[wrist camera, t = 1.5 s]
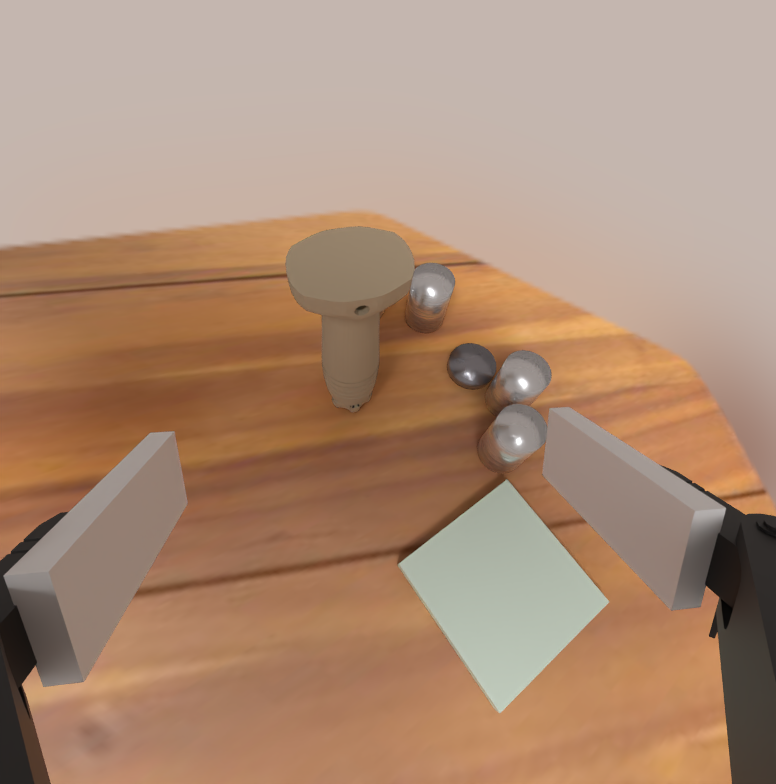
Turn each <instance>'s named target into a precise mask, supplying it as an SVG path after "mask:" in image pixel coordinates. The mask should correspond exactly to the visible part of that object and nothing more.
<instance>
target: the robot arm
mask: <svg viewBox="0 0 776 784" xmlns="http://www.w3.org/2000/svg"><path fill="white" fill-rule="evenodd" d="M542 475H543V476H544V478H545V479H546V480H547V481H548V482H549V483H550V484H551V485H552V486H553V487H554V488H555V489H556V490H557V491H558V492H559V493H560V494H561V495H562V496H563V497H564V499H565V500H566V501H567V502H568V503H569V504H570V505H571V506H572V507H573V508H574V509H575V510H576V511H577V512H578V513H579V514H580V515H581V516H582V517H583V518H584V520H585V521H586V522H587V523H588V524H589V525H590V526H591V527H592V528H593V529H594V530H595V531H596V532H597V533H598V534H599V535H600V536H601V537H602V538H603V539H604V541H605V542H606V543H607V544H608V545H609V546H610V547H611V548H612V549H613V550H614V551H615V552H616V553H617V554H618V555H619V556H620V557H621V558H622V559H623V560H624V561H625V563H626V564H627V565H628V566H629V567H630V568H631V569H632V570H633V571H634V572H635V573H636V574H637V575H638V576H639V577H640V578H641V579H642V580H643V581H644V582H645V584H646V585H647V586H648V587H649V588H650V589H651V590H652V591H653V592H654V593H655V594H656V595H657V596H658V597H659V598H660V599H661V600H662V601H663V602H664V603H665V605H666V606H667V607H668V608H669V609H670V610H671V611H672V610H680V609H688V608H697V607H700V606H701V603H702V599H703V595H704V591H705V587H706V586H707V587H708V588H710V589H711V590H712V591H713V592H714V593H715V594H716V595H717V596H719V597H720V598H719V602H718V605H717V609H716V612H715V616H714V619H713V623H712V627H711V630H710V634H709V636H710V637H712V638H715V636H716V634H717V632H718V639H719V649H720V660H721V670H722V681H723V692H724V702H725V713H726V723H727V734H728V745H729V755H730V766H731V776H732V784H776V517H775V516H771V515H765V514H747V515H745V514H743V513H742V512H740V511H739V510H737V509H735V508H734V507H732V506H731V505H729V504H727V503H726V502H724V501H723V500H721V499H719V498H718V497H716V496H715V495H713V494H712V493H710V492H708V491H705V490H704V488H702V487H700V486H699V485H697V484H696V483H692V481H691V480H689V479H688V478H686V477H685V476H683V475H681V474H680V473H678V472H676V471H674V470H671V469H669V468H666V467H664V466H661V465H659V464H657V463H655V462H654V461H652V460H651V459H649V458H648V457H646V456H645V455H643V454H641V453H640V452H638V451H637V450H635V449H634V448H632V447H631V446H629V445H627V444H626V443H624V442H623V441H621V440H620V439H618V438H616V437H615V436H613V435H612V434H610V433H609V432H607V431H606V430H604V429H602V428H601V427H599V426H598V425H596V424H595V423H593V422H592V421H590V420H588V419H587V418H585V417H584V416H582V415H581V414H579V413H578V412H576V411H574V410H573V409H571V408H570V407H562V408H549V417H548V426H547V436H546V445H545V454H544V464H543V473H542ZM187 504H188V501H187V496H186V491H185V485H184V480H183V475H182V469H181V464H180V458H179V453H178V448H177V442H176V437H175V432H174V431H171V432H154V433H149V434H148V435H147V436H146V437H145V438H144V439H143V440H142V441H141V442H140V443H139V444H138V445H137V446H136V447H135V448H134V449H133V450H132V451H131V452H130V453H129V454H128V455H127V456H126V457H125V458H124V459H123V460H122V461H121V462H120V463H119V464H118V465H117V466H116V467H114V468H113V469H112V470H111V471H110V472H109V473H108V474H107V475H106V476H105V477H104V478H103V479H102V480H101V481H100V482H99V483H98V484H97V485H96V486H95V487H94V488H93V489H92V490H91V491H90V492H89V493H88V494H87V495H86V496H85V497H84V498H83V499H82V500H81V501H80V502H79V503H78V504H77V505H75V506H74V507H73V508H72V509H71V510H70V511H69V512H65V513H59V514H58V515H56V516H54V517H53V518H51V519H49V520H47V521H46V522H44V523H42V524H41V525H39V526H38V527H37V528H36V529H35V530H34V531H32V532H31V533H30V534H29V535H28V536H27V537H26V538H25V539H24V542H21V543H19V544H18V545H17V546H16V547H15V548H14V549H13V550H12V551H11V554H7V555H6V556H5V557H4V558H3V559H2V560H1V561H0V784H51V783H50V780H49V776H48V772H47V769H46V765H45V762H44V758H43V754H42V751H41V747H40V744H39V740H38V737H37V733H36V729H35V726H34V722H33V719H32V715H31V711H30V708H29V704H28V701H27V697H26V694H25V692H24V689H23V686H22V683H23V682H24V680H25V679H26V677H27V676H28V675H29V673H30V672H31V671H32V669H33V668H34V666H35V665H36V667H37V670H38V673H39V676H40V678H41V681H42V684H43V687H46V686H54V685H63V684H71V683H79V682H84V681H85V679H86V678H87V676H88V674H89V672H90V671H91V669H92V667H93V666H94V664H95V662H96V660H97V659H98V657H99V655H100V653H101V652H102V650H103V648H104V647H105V645H106V643H107V641H108V640H109V638H110V636H111V635H112V633H113V631H114V629H115V628H116V626H117V624H118V623H119V621H120V619H121V617H122V616H123V614H124V612H125V611H126V609H127V607H128V605H129V604H130V602H131V600H132V599H133V597H134V595H135V593H136V592H137V590H138V588H139V587H140V585H141V583H142V581H143V580H144V578H145V576H146V574H147V573H148V571H149V569H150V568H151V566H152V564H153V562H154V561H155V559H156V557H157V556H158V554H159V552H160V550H161V549H162V547H163V545H164V544H165V542H166V540H167V538H168V537H169V535H170V533H171V532H172V530H173V528H174V526H175V525H176V523H177V521H178V520H179V518H180V516H181V514H182V513H183V511H184V509H185V508H186V506H187Z"/></svg>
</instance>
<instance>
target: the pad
mask: <svg viewBox="0 0 776 784" xmlns="http://www.w3.org/2000/svg"><path fill="white" fill-rule="evenodd" d="M397 566H398V567H399V568H400V570H401V571H402V573H403V574H404V576H405V577H406V579H407V580H408V582H409V583H410V585H411V586H412V588H413V589H414V591H415V592H416V594H417V595H418V597H419V598H420V600H421V601H422V603H423V604H424V606H425V607H426V608H427V610H428V611H429V613H430V614H431V616H432V617H433V619H434V620H435V622H436V623H437V625H438V626H439V628H440V629H441V631H442V632H443V634H444V635H445V637H446V638H447V640H448V641H449V643H450V644H451V646H452V647H453V649H454V650H455V651H456V653H457V654H458V656H459V657H460V659H461V660H462V662H463V663H464V665H465V666H466V668H467V669H468V671H469V672H470V674H471V675H472V677H473V678H474V680H475V681H476V683H477V684H478V686H479V687H480V689H481V690H482V691H483V693H484V694H485V696H486V697H487V699H488V700H489V702H490V703H491V705H492V706H493V708H494V709H495V710H496V711H497V712H499V713H501V712H502V711H503V710H504V709H505V708H506V707H507V706H508V705H509V704H510V703H511V702H512V701H513V700H514V699H515V697H516V696H517V695H518V694H519V693H520V692H521V691H522V690H523V689H524V688H525V687H526V686H527V685H528V684H529V683H530V682H531V681H532V680H533V679H534V678H535V677H536V676H537V675H538V674H539V673H540V672H541V671H542V670H543V669H544V668H545V667H546V666H547V665H548V664H549V663H550V662H551V661H552V660H553V659H554V658H555V657H556V656H557V655H558V654H559V653H560V652H561V651H562V650H563V649H564V648H565V646H566V645H567V644H568V643H569V642H570V641H571V640H572V639H573V638H574V637H575V636H576V635H577V634H578V633H579V632H580V631H581V630H582V629H583V628H584V627H585V626H586V625H587V624H588V623H589V622H590V621H591V620H592V619H593V618H594V617H595V616H596V615H597V614H598V613H599V612H600V611H601V610H602V609H603V608H604V607H605V606H606V605H607V604H608V603H609V601H608V600H607V598H606V597H605V596H604V595H603V594H602V592H601V591H600V590H599V589H598V588H597V586H596V585H595V584H594V583H593V582H592V580H591V579H590V578H589V577H588V576H587V574H586V573H585V572H584V571H583V570H582V568H581V567H580V566H579V565H578V564H577V562H576V561H575V560H574V559H573V558H572V556H571V555H570V554H569V553H568V552H567V550H566V549H565V548H564V547H563V546H562V544H561V543H560V542H559V541H558V540H557V538H556V537H555V536H554V535H553V534H552V532H551V531H550V530H549V529H548V528H547V526H546V525H545V524H544V523H543V522H542V520H541V519H540V518H539V517H538V516H537V514H536V513H535V512H534V511H533V510H532V508H531V507H530V506H529V505H528V504H527V502H526V501H525V500H524V499H523V498H522V496H521V495H520V494H519V493H518V492H517V490H516V489H515V488H514V487H513V486H512V484H511V483H510V482H509V481H508V480H505V481H504V482H503V483H502V484H500V485H499V486H498V487H496V488H495V489H494V490H493V491H491V492H490V493H489V494H487V495H486V496H485V497H484V498H482V499H481V500H480V501H478V502H477V503H476V504H475V505H473V506H472V507H471V508H469V509H468V510H467V511H466V512H464V513H463V514H462V515H461V516H459V517H458V518H457V519H455V520H454V521H453V522H452V523H450V524H449V525H448V526H446V527H445V528H444V529H443V530H441V531H440V532H439V533H437V534H436V535H435V536H434V537H432V538H431V539H430V540H428V541H427V542H426V543H425V544H423V545H422V546H421V547H419V548H418V549H417V550H416V551H414V552H413V553H412V554H410V555H409V556H408V557H407V558H405V559H404V560H403V561H401V562H400V563H399V564H398V565H397Z"/></svg>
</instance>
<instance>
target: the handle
mask: <svg viewBox="0 0 776 784" xmlns="http://www.w3.org/2000/svg"><path fill="white" fill-rule="evenodd" d="M414 268H415V266H414V258H413V255H412V252H411V250H410V248H409V246H408V245H407V244H406V242H405V241H404V240H403V239H402V238H401V237H400V236H398V235H397V234H395V233H394V232H390V231H385V230H380V229H375V228H369V227H360V226H358V227H346V228H338V229H331V230H326V231H322V232H319V233H316V234H314V235H312V236H310V237H308V238H306V239H304V240H302V241H300V242H298V243H296V244H295V245H293V246H292V247H291V248H290V250H289V252H288V254H287V256H286V272H287V277H288V282H289V286H290V289H291V292H292V294H293V296H294V298H295V300H296V301H297V303H298V304H299V305H300V306H301V307H303V308H304V309H305V310H306V311H310V312H313V313H317V314H320V315H322V367H323V374H324V378H325V382H326V385H327V388H328V390H329V392H330V394H331V395H332V402H333V404H334V405H335V406H336V407H337V408H339V407H342V408H346V409H348V410H350V412H356V411H359V409H360V407H361V406H362V405H363V404H364V403H365V402H368V401H369V400H370V398H371V395H372V390H373V388H374V385H375V382H376V378H377V374H378V368H379V325H380V312H381V311H383V310H385V309H386V308H388V307H390V306H391V305H393V304H395V303H396V302H397V301H399V300H400V299H402V298H403V297H404V296H405V295H407V294H408V292H409V289H410V287H411V283H412V278H413V274H414Z"/></svg>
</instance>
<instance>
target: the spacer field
mask: <svg viewBox="0 0 776 784" xmlns="http://www.w3.org/2000/svg"><path fill="white" fill-rule="evenodd" d="M454 285H455V278H454V275H453V274H452V272H451V271H450V270H449V269H448V268H446V267H445V266H443V265H440V264H437V263H426V264H422V265H420V266H418V267H417V268H416V269H415V270H414V274H413V278H412V283H411V287H410V291H409V296H408V301H407V307H406V312H405V319H406V322H407V324H408V325H409V326H410V327H411V328H412V329H414V330H416V331H418V332H422V333H430V332H434V331H436V330H437V329H439V328H440V326H441V325H442V322H443V319H444V316H445V313H446V310H447V307H448V304H449V301H450V298H451V295H452V292H453V288H454ZM384 312H385V310H383V311H381V312H380V317H381V316H382V315H383V314H384ZM550 381H551V369H550V367H549V365H548V363H547V362H546V361H545V360H544V359H543V358H542V357H541V356H539V355H538V354H536V353H534V352H531V351H525V350H522V351H516V352H514V353H512V354H510V355H509V356H508V357H507V359H506V360H505V362H504V364H503V365H502V367H501V368H500V370H499V372H498V373H497V375H496V377H495V378H494V380H493V381H492V383H491V385H490V386H489V388H488V389H487V391H486V394H485V402H486V405H487V407H488V409H489V410H490V411H491V412H492V413H493V414H494V415H495V416H497V417H496V419H495V420H494V421H493V423H492V424H491V425H490V427H489V428H488V429H487V431H486V432H485V433H484V434H483V436H482V437H481V439H480V440H479V442H478V447H477V450H478V455H479V458H480V460H481V461H482V463H483V464H484V465H485V466H486V467H487V468H488V469H490V470H492V471H494V472H497V473H508V472H511V471H513V470H514V469H515V468H517V467H518V466H519V465H520V464H521V463H523V462H524V461H525V460H526V459H527V458H528V457H530V456H531V455H532V454H533V453H534V452H535V451H537V450H538V449H539V448H540V447H541V446H542V445H543V444H544V443H545V441H546V436H547V425H546V422H545V420H544V419H543V417H542V416H541V415H540V414H539V413H538V412H537V411H536V410H535V409H533V408H532V407H529V406H530V405H531V404H532V403H533V402H534V401H535V399H536V398H537V397H538V396H539V395H540V394H541V393H542V392H543V390H544V389H545V388H546V387H547V386H548V385H549V383H550Z"/></svg>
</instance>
